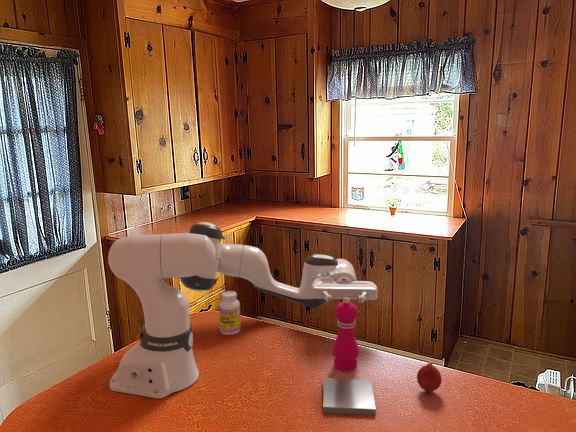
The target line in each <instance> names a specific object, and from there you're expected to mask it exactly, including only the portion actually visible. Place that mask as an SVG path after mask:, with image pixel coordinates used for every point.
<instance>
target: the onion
mask: <svg viewBox="0 0 576 432" xmlns="http://www.w3.org/2000/svg"><path fill="white" fill-rule="evenodd" d="M416 379H417V383H418V385H419V387H420V388H421V389H422V390H424V391H425V392H427V393H432V392H434V391H437V389H439V388H440V387H441V385H442V375H441V372H440V370H439V369H438V368H437V367H436V366H434V365H433V362H432V361H429V362H428V361H427V364H425V365H422V366H421V368H419V369H418V371H417V373H416Z"/></svg>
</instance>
